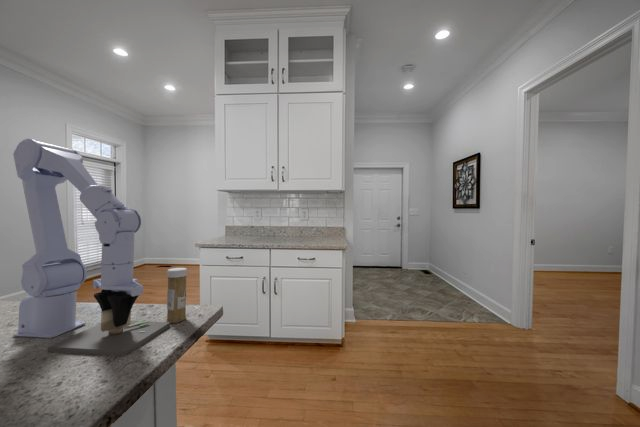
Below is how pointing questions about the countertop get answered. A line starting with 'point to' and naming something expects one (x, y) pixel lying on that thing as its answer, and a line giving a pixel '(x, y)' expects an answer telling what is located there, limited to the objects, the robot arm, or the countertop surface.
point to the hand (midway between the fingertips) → (116, 324)
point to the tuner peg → (108, 323)
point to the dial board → (109, 340)
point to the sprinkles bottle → (176, 295)
